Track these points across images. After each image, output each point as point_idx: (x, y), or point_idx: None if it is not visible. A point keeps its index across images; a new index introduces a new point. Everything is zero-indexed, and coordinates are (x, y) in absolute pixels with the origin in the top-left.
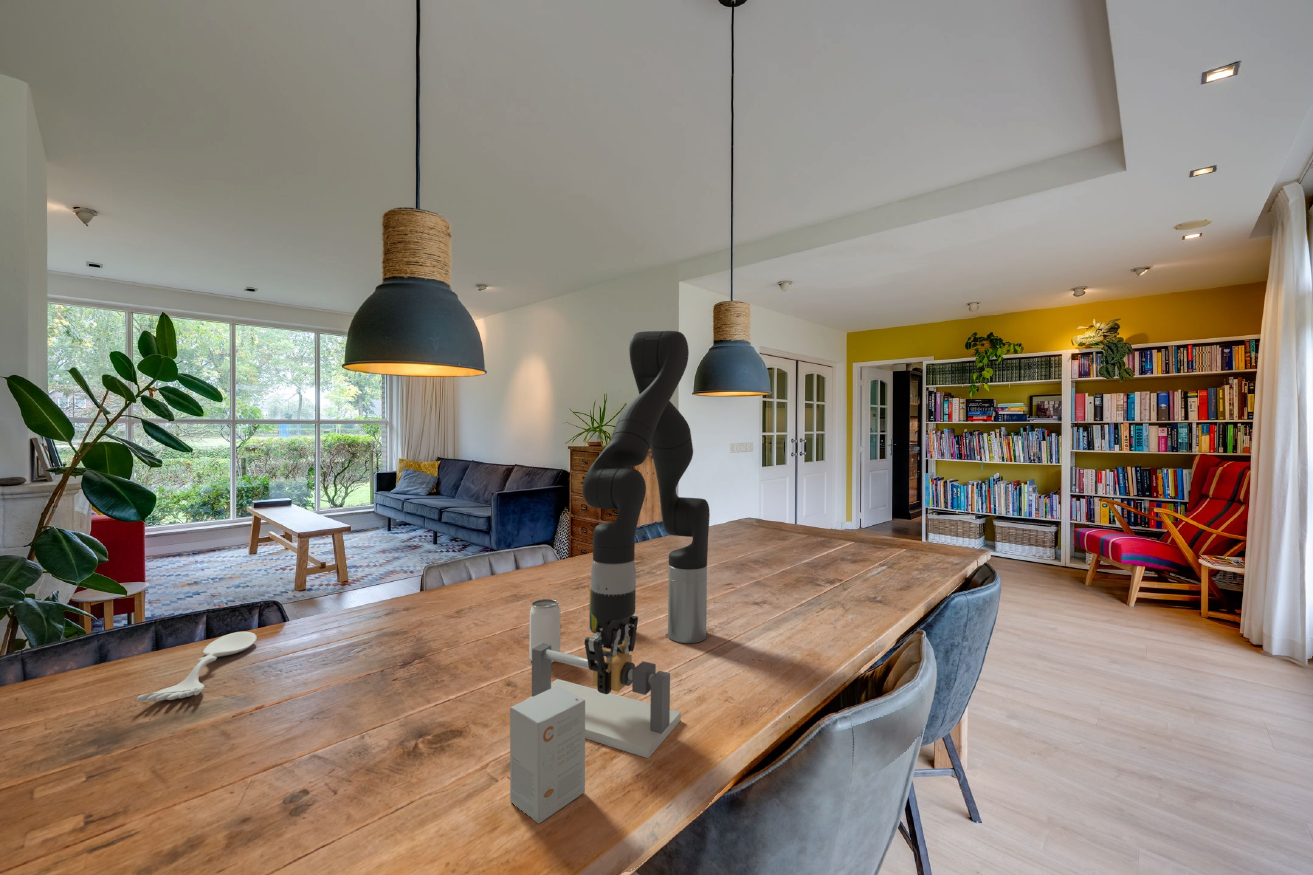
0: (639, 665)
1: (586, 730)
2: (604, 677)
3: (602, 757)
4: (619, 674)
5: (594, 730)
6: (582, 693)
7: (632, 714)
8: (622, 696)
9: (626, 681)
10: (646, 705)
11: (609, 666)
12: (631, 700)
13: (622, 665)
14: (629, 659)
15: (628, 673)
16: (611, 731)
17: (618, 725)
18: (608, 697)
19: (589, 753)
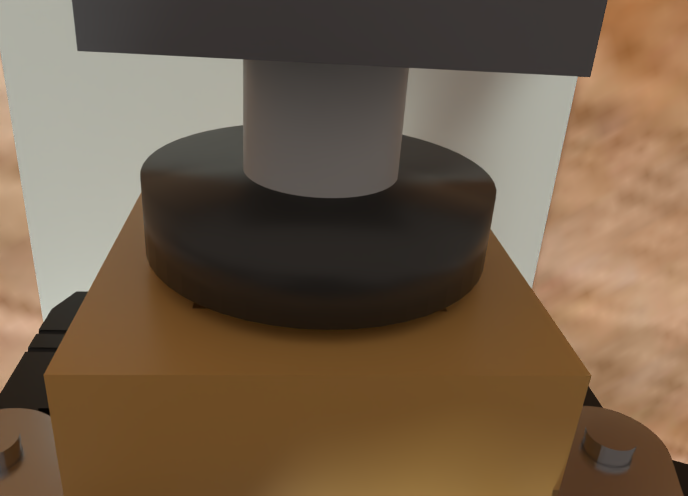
0: (336, 22)
1: (535, 250)
2: (596, 402)
3: (675, 43)
4: (492, 278)
5: (535, 204)
6: None
7: (231, 59)
8: (34, 253)
9: (427, 152)
10: (39, 12)
11: (620, 470)
12: (44, 165)
13: (428, 336)
14: (157, 341)
15: (390, 181)
16: (511, 95)
17: (419, 87)
18: None
19: (652, 137)
